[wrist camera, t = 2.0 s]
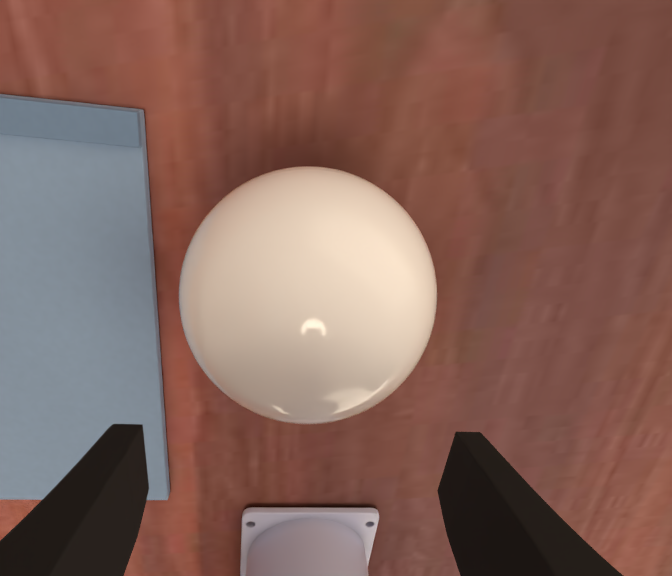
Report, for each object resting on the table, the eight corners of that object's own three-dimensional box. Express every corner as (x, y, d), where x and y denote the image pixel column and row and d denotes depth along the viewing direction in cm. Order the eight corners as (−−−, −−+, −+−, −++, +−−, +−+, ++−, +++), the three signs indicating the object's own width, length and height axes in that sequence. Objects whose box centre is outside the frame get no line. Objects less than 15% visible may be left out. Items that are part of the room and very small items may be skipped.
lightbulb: (210, 254, 19) (127, 461, 10) (242, 99, 17) (171, 167, 7) (353, 288, 21) (407, 501, 11) (403, 149, 18) (533, 266, 8)
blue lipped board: (170, 491, 26) (166, 505, 25) (-68, 489, 24) (-81, 504, 23) (144, 109, 17) (136, 112, 16) (-238, 67, 15) (-268, 68, 14)
